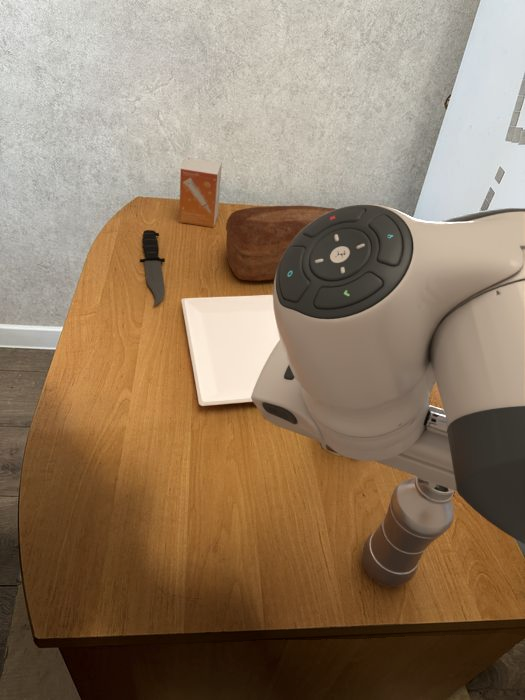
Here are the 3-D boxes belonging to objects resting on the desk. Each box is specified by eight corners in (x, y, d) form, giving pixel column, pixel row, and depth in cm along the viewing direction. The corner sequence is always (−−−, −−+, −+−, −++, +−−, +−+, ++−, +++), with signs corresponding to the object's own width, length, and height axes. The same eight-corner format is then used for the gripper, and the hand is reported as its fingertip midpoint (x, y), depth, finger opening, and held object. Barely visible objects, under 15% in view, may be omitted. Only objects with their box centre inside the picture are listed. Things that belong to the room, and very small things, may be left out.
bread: (218, 250, 114) (222, 198, 105) (339, 245, 121) (351, 196, 113) (232, 289, 104) (237, 235, 96) (362, 281, 112) (377, 230, 103)
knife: (172, 302, 97) (144, 303, 95) (172, 309, 98) (144, 310, 96) (160, 229, 114) (136, 230, 113) (160, 236, 115) (136, 236, 114)
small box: (179, 223, 120) (179, 168, 111) (184, 209, 125) (185, 156, 116) (214, 228, 120) (217, 174, 111) (218, 214, 125) (222, 161, 116)
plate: (358, 399, 87) (361, 390, 85) (198, 413, 80) (199, 404, 79) (313, 300, 105) (315, 292, 103) (180, 306, 99) (181, 297, 97)
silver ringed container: (368, 532, 69) (417, 439, 56) (417, 561, 67) (479, 471, 54) (349, 573, 65) (396, 483, 52) (400, 604, 63) (463, 519, 49)
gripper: (530, 402, 36) (503, 469, 47) (266, 328, 44) (297, 400, 56) (506, 488, 33) (484, 537, 45) (232, 392, 42) (272, 454, 53)
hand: (379, 460), depth 50 cm, fingers open, 8 cm apart
